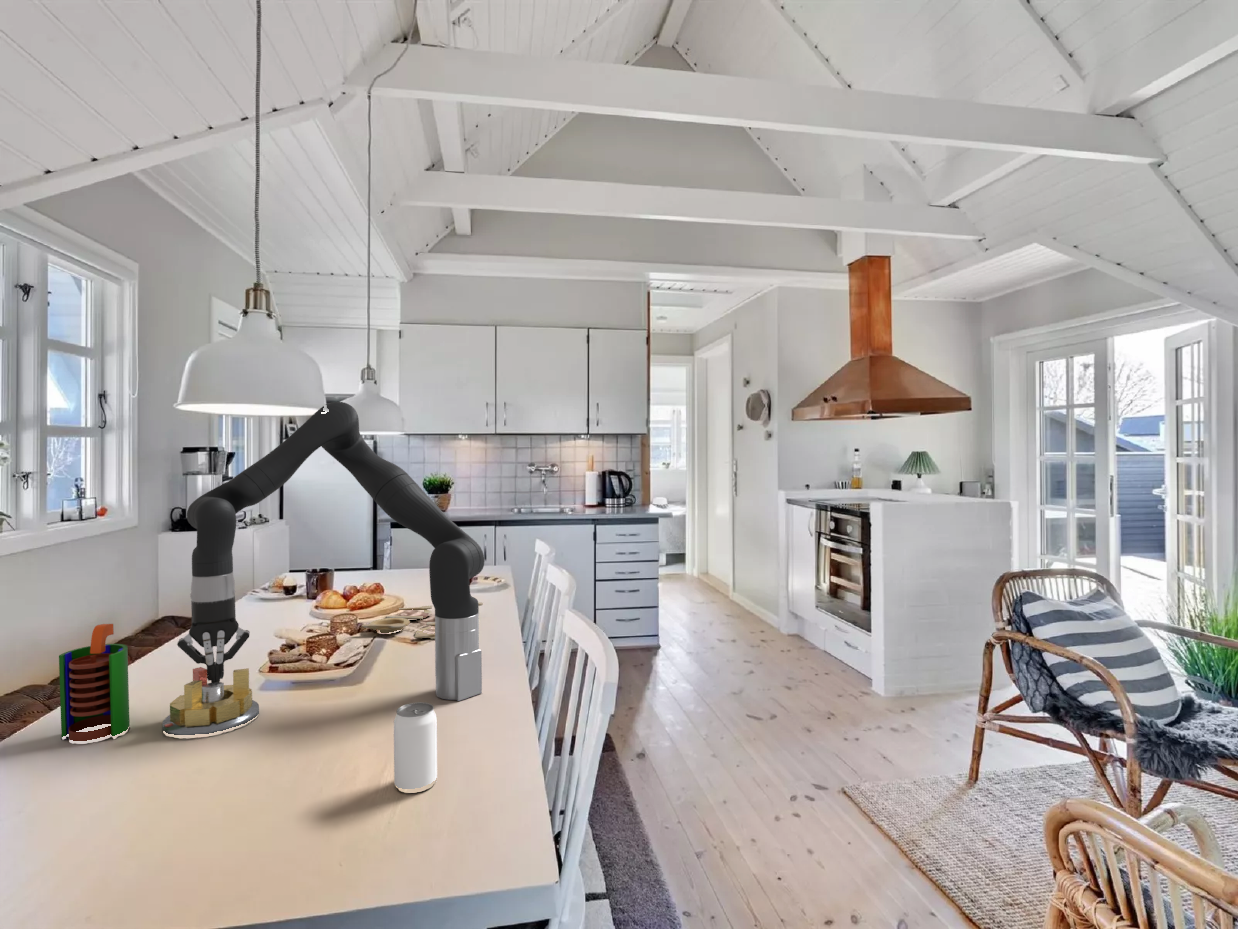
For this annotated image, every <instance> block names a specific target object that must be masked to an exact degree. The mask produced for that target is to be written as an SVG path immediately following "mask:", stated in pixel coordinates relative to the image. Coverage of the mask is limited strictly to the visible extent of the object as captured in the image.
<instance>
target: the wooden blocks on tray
mask: <svg viewBox="0 0 1238 929" xmlns="http://www.w3.org/2000/svg"><path fill="white" fill-rule="evenodd" d="M232 677H233V679H232V684H224V700H221V701H218V702H214V703H206V704H202V685H204V684H208V679H207V668H204V667H202V666H200V667H195V668H192V681H190V682H187V683H186V684H184V685H183V691H184V692H183V695H182V694H181V695H179V696H178V697H176V698H175V699H173V700H172V701H171V702H170V703H169V715H170V721H171V722H173V723H175V724H177V725H179V726H182V725H185V727H187V726H201V725H210V724H211V723H212V722H215V723H220V722H223V721H226V720H229V719H232V718H236V717H239V716H240V714H245V713H246V712H247V711H248V710H249V709H250V708H251V706H252V700H253V689H252V688H250V668H249V667H248V668H240V669H234V670H233V672H232Z"/></svg>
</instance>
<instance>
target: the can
mask: <svg viewBox="0 0 1238 929" xmlns="http://www.w3.org/2000/svg"><path fill="white" fill-rule="evenodd" d="M434 709H435V708H434V705H433V704H431V703H429V702H425V701H424V702H422V701H421V702H420V701H419V702H411V703H407V704H406V703H405V704H404V705H401V706H400V707H398V708H397V710H396V715H395V718H394V719H393V720H394V721H393V772H394V776H393V778H394V779H393V780H394V786H395V785H396V786H397V787H398V788H402V789H415V788H421V787H423V786H426V785H428V784H431V783H432V782H433V781H435V780H436V778H437V779H438V728H437V727H438V725H437V723H438V722H437V720H438V719H437V714H436V712H435V710H434Z"/></svg>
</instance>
